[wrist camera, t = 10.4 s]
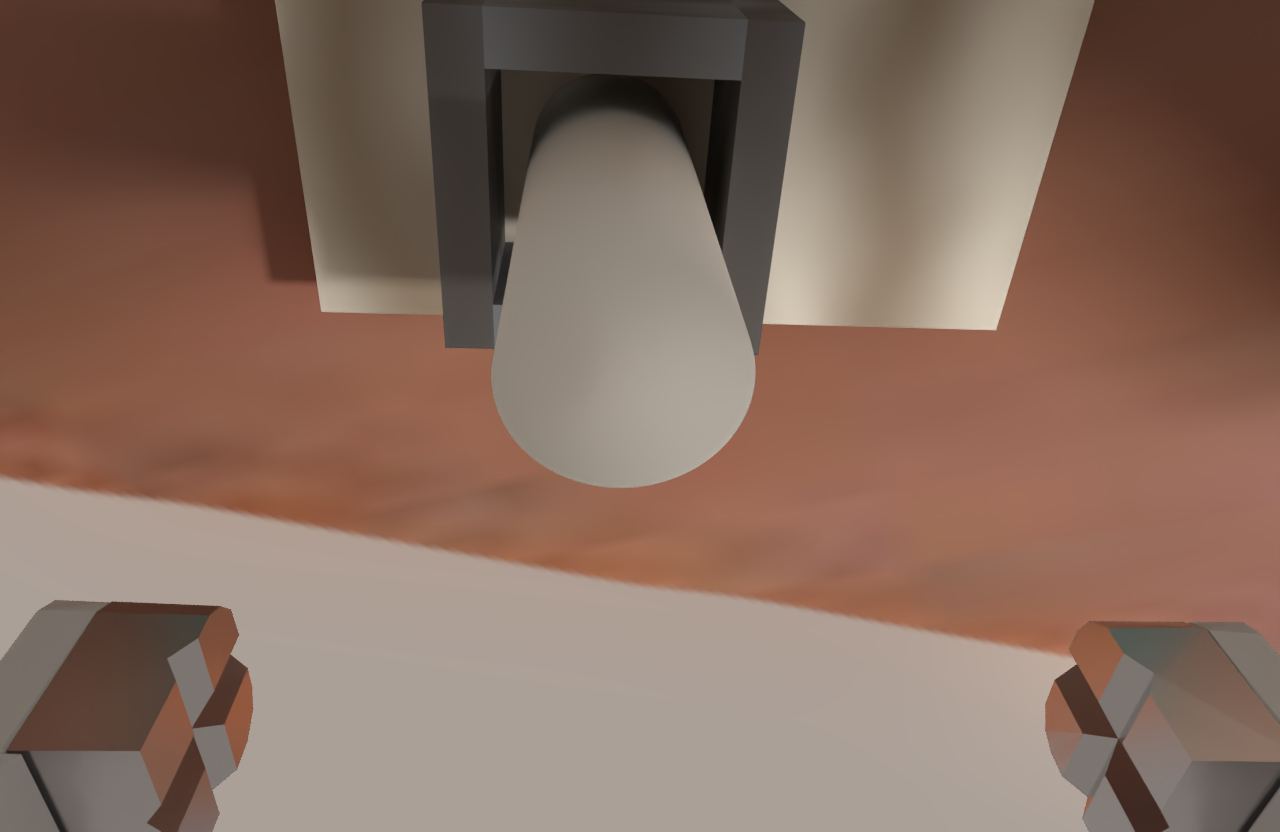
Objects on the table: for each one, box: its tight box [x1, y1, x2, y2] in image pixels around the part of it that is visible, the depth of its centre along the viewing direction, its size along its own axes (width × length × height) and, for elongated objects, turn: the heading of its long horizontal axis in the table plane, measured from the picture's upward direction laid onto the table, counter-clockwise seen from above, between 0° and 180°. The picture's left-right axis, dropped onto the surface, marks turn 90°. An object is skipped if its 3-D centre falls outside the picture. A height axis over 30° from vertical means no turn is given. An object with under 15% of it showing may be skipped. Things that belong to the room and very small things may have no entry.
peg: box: [491, 74, 755, 488], centre depth 19 cm, size 4×4×12 cm
